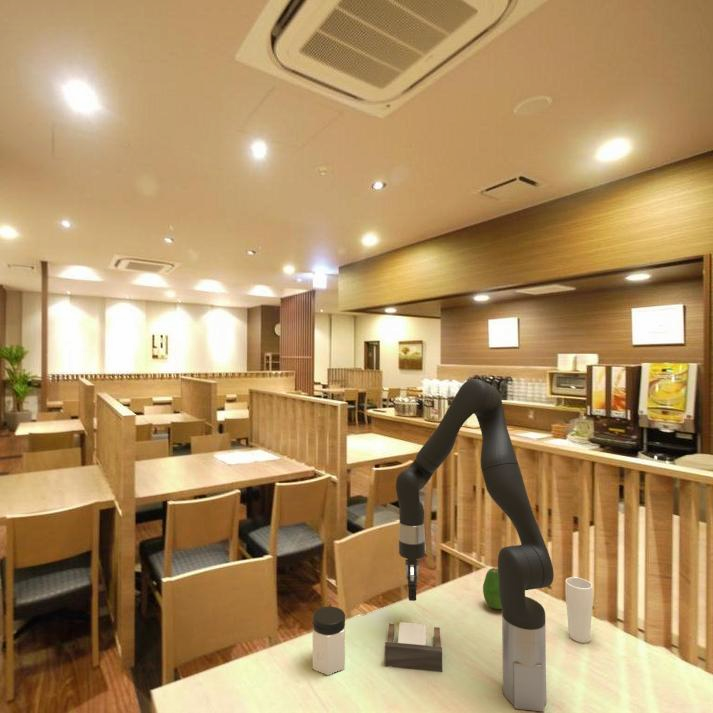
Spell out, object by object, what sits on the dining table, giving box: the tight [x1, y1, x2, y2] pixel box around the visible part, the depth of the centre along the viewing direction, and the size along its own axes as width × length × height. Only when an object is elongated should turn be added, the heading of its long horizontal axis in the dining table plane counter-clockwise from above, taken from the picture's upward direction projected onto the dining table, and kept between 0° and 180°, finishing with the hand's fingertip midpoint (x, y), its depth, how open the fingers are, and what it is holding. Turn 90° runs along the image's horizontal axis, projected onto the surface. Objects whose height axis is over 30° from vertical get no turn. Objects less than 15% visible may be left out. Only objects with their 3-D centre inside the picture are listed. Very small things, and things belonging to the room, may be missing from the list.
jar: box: [312, 606, 346, 676], centre depth 109 cm, size 9×8×12 cm
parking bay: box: [384, 623, 443, 673], centre depth 114 cm, size 14×14×5 cm
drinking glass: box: [564, 576, 594, 644], centre depth 120 cm, size 7×7×15 cm
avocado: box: [482, 567, 502, 610], centre depth 134 cm, size 8×8×12 cm
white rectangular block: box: [397, 621, 427, 646], centre depth 114 cm, size 9×7×5 cm
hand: (412, 599), depth 125 cm, fingers closed
